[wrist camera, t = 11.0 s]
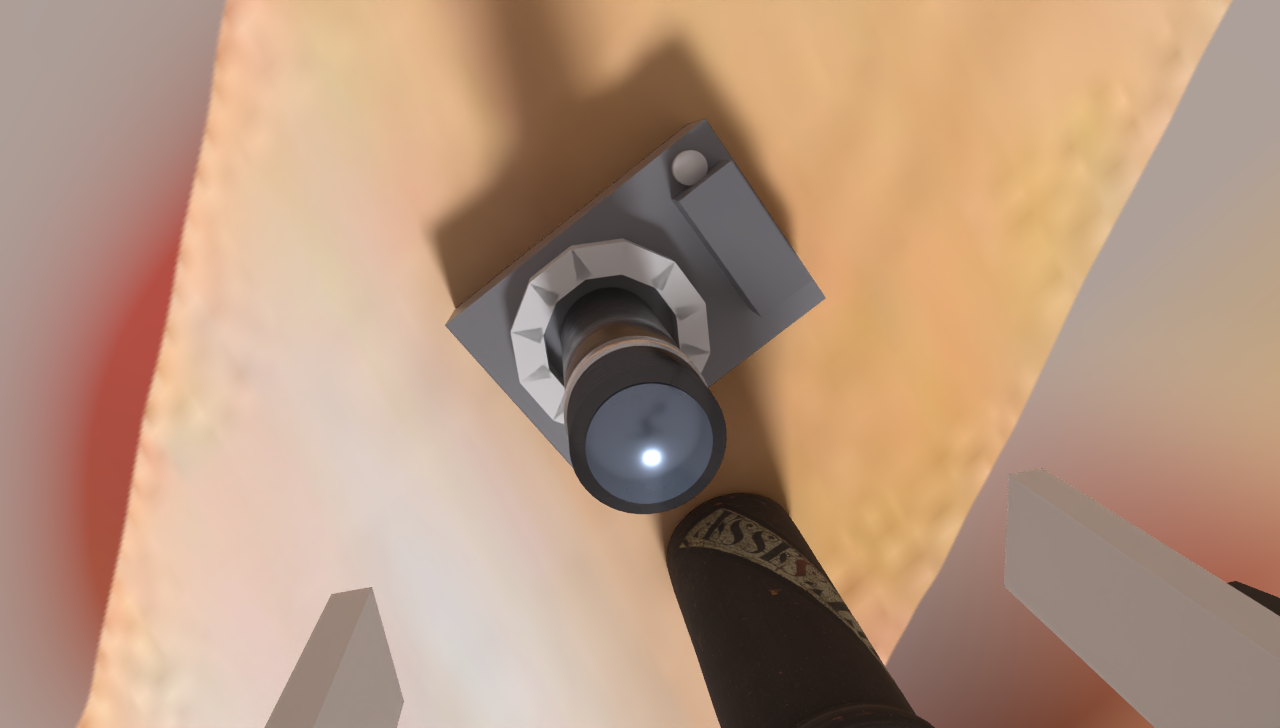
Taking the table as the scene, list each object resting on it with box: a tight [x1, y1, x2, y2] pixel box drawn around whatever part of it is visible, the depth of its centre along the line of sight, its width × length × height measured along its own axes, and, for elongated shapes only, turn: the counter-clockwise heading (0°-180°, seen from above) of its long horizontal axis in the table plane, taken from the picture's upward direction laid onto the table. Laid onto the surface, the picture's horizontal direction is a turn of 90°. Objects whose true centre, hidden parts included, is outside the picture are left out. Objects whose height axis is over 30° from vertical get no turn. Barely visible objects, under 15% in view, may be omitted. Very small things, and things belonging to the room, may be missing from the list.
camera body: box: [445, 119, 825, 469], centre depth 36 cm, size 16×11×6 cm
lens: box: [561, 287, 726, 514], centre depth 28 cm, size 5×5×14 cm
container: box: [667, 494, 935, 728], centre depth 35 cm, size 9×9×20 cm
